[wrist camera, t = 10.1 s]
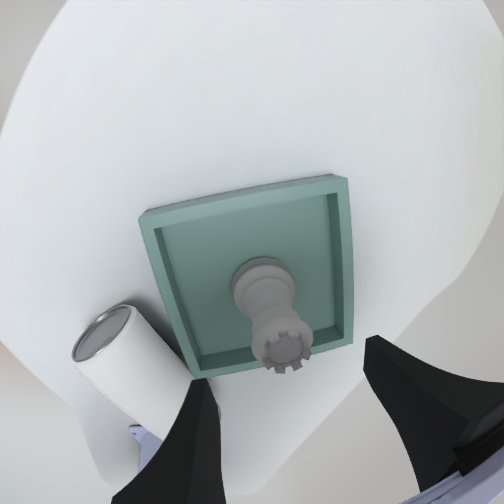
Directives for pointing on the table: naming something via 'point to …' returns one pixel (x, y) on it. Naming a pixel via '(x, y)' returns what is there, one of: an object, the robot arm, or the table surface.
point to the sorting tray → (242, 251)
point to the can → (134, 368)
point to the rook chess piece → (272, 313)
